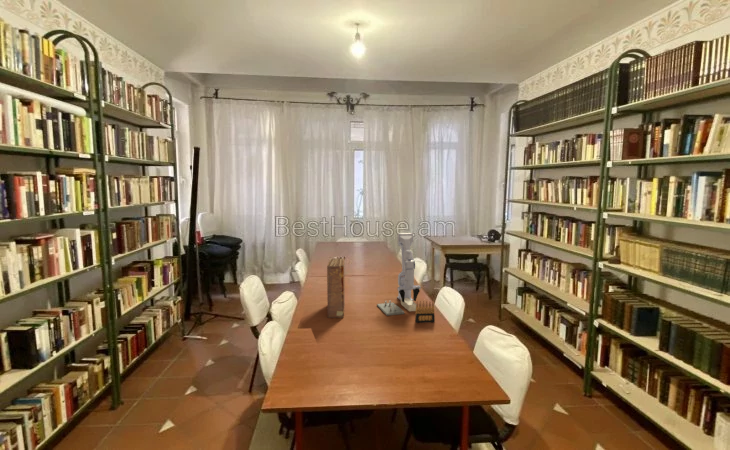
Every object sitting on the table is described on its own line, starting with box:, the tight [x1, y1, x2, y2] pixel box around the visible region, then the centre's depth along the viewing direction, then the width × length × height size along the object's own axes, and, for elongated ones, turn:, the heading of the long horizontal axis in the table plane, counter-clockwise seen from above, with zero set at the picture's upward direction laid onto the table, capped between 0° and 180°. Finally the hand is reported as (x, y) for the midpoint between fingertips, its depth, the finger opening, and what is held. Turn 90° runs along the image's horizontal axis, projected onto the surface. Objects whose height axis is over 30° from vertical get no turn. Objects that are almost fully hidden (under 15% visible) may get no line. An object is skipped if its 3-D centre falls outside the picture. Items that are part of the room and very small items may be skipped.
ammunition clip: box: [414, 300, 436, 324], centre depth 210 cm, size 11×2×12 cm, turn 94°
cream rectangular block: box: [400, 298, 417, 312], centre depth 234 cm, size 14×5×4 cm, turn 16°
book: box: [326, 257, 346, 319], centre depth 227 cm, size 25×9×30 cm, turn 2°
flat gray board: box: [376, 299, 405, 316], centre depth 230 cm, size 18×11×4 cm, turn 16°
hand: (408, 301), depth 234 cm, fingers open, 7 cm apart
